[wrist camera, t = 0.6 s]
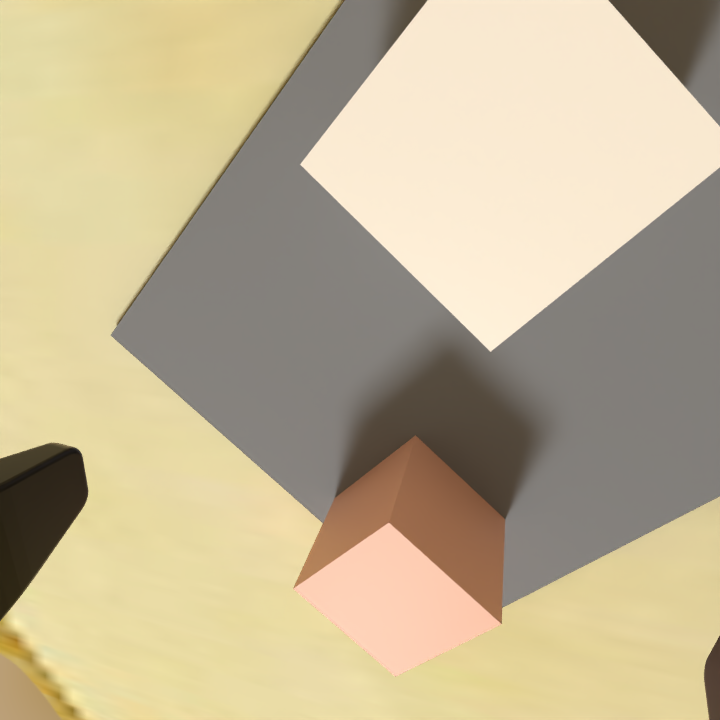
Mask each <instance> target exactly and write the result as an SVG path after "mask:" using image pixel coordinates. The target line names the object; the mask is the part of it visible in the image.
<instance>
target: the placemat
mask: <svg viewBox="0 0 720 720" xmlns="http://www.w3.org/2000/svg"><path fill="white" fill-rule="evenodd" d="M426 2H427V0H345V1H344V2H343V4H342V5H341V6H340V8H339V9H338V11H337V12H336V14H335V15H334V16H333V18H332V19H331V21H330V22H329V24H328V25H327V26H326V28H325V29H324V31H323V32H322V34H321V35H320V36H319V38H318V39H317V41H316V42H315V44H314V45H313V46H312V48H311V49H310V51H309V52H308V54H307V55H306V56H305V58H304V59H303V61H302V62H301V64H300V65H299V66H298V68H297V69H296V71H295V72H294V74H293V75H292V77H291V78H290V79H289V81H288V82H287V84H286V85H285V87H284V88H283V89H282V91H281V92H280V94H279V95H278V97H277V98H276V99H275V101H274V102H273V104H272V105H271V107H270V108H269V109H268V111H267V112H266V114H265V115H264V117H263V118H262V119H261V121H260V122H259V124H258V125H257V127H256V128H255V129H254V131H253V132H252V134H251V135H250V137H249V138H248V139H247V141H246V142H245V144H244V145H243V147H242V148H241V149H240V151H239V152H238V154H237V155H236V157H235V158H234V159H233V161H232V162H231V164H230V165H229V167H228V168H227V169H226V171H225V172H224V174H223V175H222V177H221V178H220V179H219V181H218V182H217V184H216V185H215V187H214V188H213V189H212V191H211V192H210V194H209V195H208V197H207V198H206V199H205V201H204V202H203V204H202V205H201V207H200V208H199V209H198V211H197V212H196V214H195V215H194V217H193V218H192V219H191V221H190V222H189V224H188V225H187V227H186V228H185V230H184V231H183V232H182V234H181V235H180V237H179V238H178V240H177V241H176V242H175V244H174V245H173V247H172V248H171V250H170V251H169V252H168V254H167V255H166V257H165V258H164V260H163V261H162V262H161V264H160V265H159V267H158V268H157V270H156V271H155V272H154V274H153V275H152V277H151V278H150V280H149V281H148V282H147V284H146V285H145V287H144V288H143V290H142V291H141V292H140V294H139V295H138V297H137V298H136V300H135V301H134V302H133V304H132V305H131V307H130V308H129V310H128V311H127V312H126V314H125V315H124V317H123V318H122V320H121V321H120V322H119V324H118V325H117V327H116V328H115V330H114V331H113V332H112V334H111V336H112V337H113V338H114V339H115V340H117V341H118V342H119V343H120V344H121V345H122V346H123V347H124V348H126V349H127V350H128V351H129V352H130V353H131V354H132V355H133V356H135V357H136V358H137V359H138V360H139V361H140V362H141V363H143V364H144V365H145V366H146V367H147V368H148V369H149V370H150V371H152V372H153V373H154V374H155V375H156V376H157V377H158V378H159V379H161V380H162V381H163V382H164V383H165V384H166V385H167V386H169V387H170V388H171V389H172V390H173V391H174V392H175V393H176V394H178V395H179V396H180V397H181V398H182V399H183V400H184V401H185V402H187V403H188V404H189V405H190V406H191V407H192V408H193V409H194V410H196V411H197V412H198V413H199V414H200V415H201V416H202V417H204V418H205V419H206V420H207V421H208V422H209V423H210V424H211V425H213V426H214V427H215V428H216V429H217V430H218V431H219V432H220V433H222V434H223V435H224V436H225V437H226V438H227V439H228V440H230V441H231V442H232V443H233V444H234V445H235V446H236V447H237V448H239V449H240V450H241V451H242V452H243V453H244V454H245V455H246V456H248V457H249V458H250V459H251V460H252V461H253V462H254V463H256V464H257V465H258V466H259V467H260V468H261V469H262V470H263V471H265V472H266V473H267V474H268V475H269V476H270V477H271V478H272V479H274V480H275V481H276V482H277V483H278V484H279V485H280V486H282V487H283V488H284V489H285V490H286V491H287V492H288V493H289V494H291V495H292V496H293V497H294V498H295V499H296V500H297V501H298V502H300V503H301V504H302V505H303V506H304V507H305V508H306V509H308V510H309V511H310V512H311V513H312V514H313V515H314V516H315V517H317V518H318V519H319V520H320V521H321V522H322V523H323V522H324V520H325V518H326V516H327V514H328V511H329V509H330V507H331V505H332V503H333V501H334V498H335V497H337V496H338V495H339V494H341V493H342V492H343V491H344V490H346V489H347V488H348V487H350V486H351V485H352V484H353V483H355V482H356V481H357V480H359V479H360V478H361V477H362V476H364V475H365V474H366V473H368V472H369V471H370V470H372V469H373V468H374V467H375V466H377V465H378V464H379V463H381V462H382V461H383V460H384V459H386V458H387V457H388V456H390V455H391V454H392V453H393V452H395V451H396V450H397V449H399V448H400V447H401V446H402V445H404V444H405V443H406V442H408V441H409V440H410V439H411V438H413V437H414V436H415V435H416V436H417V437H418V438H419V439H420V440H421V441H422V442H423V443H424V444H425V445H426V446H427V447H429V448H430V449H431V450H432V451H433V452H434V453H435V454H436V455H437V456H438V457H439V458H440V459H441V460H442V461H443V462H445V463H446V464H447V465H448V466H449V467H450V468H451V469H452V470H453V471H454V472H455V473H456V474H457V475H458V476H460V477H461V478H462V479H463V480H464V481H465V482H466V483H467V484H468V485H469V486H470V487H471V488H472V489H473V490H474V491H476V492H477V493H478V494H479V495H480V496H481V497H482V498H483V499H484V500H485V501H486V502H487V503H488V504H489V505H490V506H492V507H493V508H494V509H495V510H496V511H497V512H498V513H499V514H500V515H501V516H502V517H503V518H504V519H505V540H504V568H503V596H502V608H503V607H505V606H507V605H509V604H510V603H512V602H514V601H516V600H518V599H520V598H522V597H524V596H526V595H528V594H530V593H532V592H534V591H536V590H538V589H540V588H542V587H544V586H546V585H548V584H550V583H552V582H553V581H555V580H557V579H559V578H561V577H563V576H565V575H567V574H569V573H571V572H573V571H575V570H577V569H579V568H581V567H583V566H585V565H587V564H589V563H591V562H593V561H594V560H596V559H598V558H600V557H602V556H604V555H606V554H608V553H610V552H612V551H614V550H616V549H618V548H620V547H622V546H624V545H626V544H628V543H630V542H632V541H634V540H635V539H637V538H639V537H641V536H643V535H645V534H647V533H649V532H651V531H653V530H655V529H657V528H659V527H661V526H663V525H665V524H667V523H669V522H671V521H673V520H675V519H677V518H678V517H680V516H682V515H684V514H686V513H688V512H690V511H692V510H694V509H696V508H698V507H700V506H702V505H704V504H706V503H708V502H710V501H712V500H714V499H716V498H718V497H719V496H720V168H718V169H717V170H716V171H715V172H713V173H712V174H711V175H710V176H708V177H707V178H706V179H705V180H703V181H702V182H701V183H700V184H698V185H697V186H696V187H695V188H693V189H692V190H691V191H690V192H689V193H687V194H686V195H685V196H684V197H682V198H681V199H680V200H679V201H677V202H676V203H675V204H674V205H672V206H671V207H670V208H669V209H667V210H666V211H665V212H664V213H662V214H661V215H660V216H659V217H657V218H656V219H655V220H654V221H652V222H651V223H650V224H649V225H648V226H646V227H645V228H644V229H643V230H641V231H640V232H639V233H638V234H636V235H635V236H634V237H633V238H631V239H630V240H629V241H628V242H626V243H625V244H624V245H623V246H621V247H620V248H619V249H618V250H616V251H615V252H614V253H613V254H611V255H610V256H609V257H608V258H606V259H605V260H604V261H603V262H602V263H600V264H599V265H598V266H597V267H595V268H594V269H593V270H592V271H590V272H589V273H588V274H587V275H585V276H584V277H583V278H582V279H580V280H579V281H578V282H577V283H575V284H574V285H573V286H572V287H570V288H569V289H568V290H567V291H565V292H564V293H563V294H562V295H561V296H559V297H558V298H557V299H556V300H554V301H553V302H552V303H551V304H549V305H548V306H547V307H546V308H544V309H543V310H542V311H541V312H539V313H538V314H537V315H536V316H534V317H533V318H532V319H531V320H529V321H528V322H527V323H526V324H524V325H523V326H522V327H521V328H519V329H518V330H517V331H516V332H515V333H513V334H512V335H511V336H510V337H508V338H507V339H506V340H505V341H503V342H502V343H501V344H500V345H498V346H497V347H496V348H495V349H493V350H492V351H491V352H490V351H489V350H488V349H487V348H486V347H485V346H484V345H483V344H482V343H481V342H480V341H479V340H478V339H477V338H476V337H475V336H474V335H473V334H472V333H471V332H470V331H469V330H468V329H467V328H466V327H465V326H464V325H463V324H462V323H461V322H460V321H459V320H458V319H457V318H456V317H455V316H454V315H453V314H452V313H451V312H450V311H449V310H448V309H447V308H446V307H445V306H444V305H443V304H442V303H440V302H439V301H438V300H437V299H436V298H435V297H434V296H433V295H432V294H431V293H430V292H429V291H428V290H427V289H426V288H425V287H424V286H423V285H422V284H421V283H420V282H419V281H418V280H417V279H416V278H415V277H414V276H413V275H412V274H411V273H410V272H409V271H408V270H407V269H406V268H405V267H404V266H403V265H402V264H401V263H400V262H399V261H398V260H397V259H396V258H395V257H394V256H393V255H392V254H391V253H390V252H389V251H388V250H387V249H386V248H385V247H384V246H383V245H382V244H381V243H379V242H378V241H377V240H376V239H375V238H374V237H373V236H372V235H371V234H370V233H369V232H368V231H367V230H366V229H365V228H364V227H363V226H362V225H361V224H360V223H359V222H358V221H357V220H356V219H355V218H354V217H353V216H352V215H351V214H350V213H349V212H348V211H347V210H346V209H345V208H344V207H343V206H342V205H341V204H340V203H339V202H338V201H337V200H336V199H335V198H334V197H333V196H332V195H331V194H330V193H329V192H328V191H327V190H326V189H325V188H324V187H323V186H322V185H321V184H319V183H318V182H317V181H316V180H315V179H314V178H313V177H312V176H311V175H310V174H309V173H308V172H307V171H306V170H305V169H304V168H303V167H302V166H301V165H300V164H301V163H302V161H303V160H304V159H305V158H306V156H307V155H308V154H309V152H310V151H311V150H312V149H313V147H314V146H315V145H316V143H317V142H318V141H319V140H320V138H321V137H322V136H323V134H324V133H325V132H326V131H327V129H328V128H329V127H330V125H331V124H332V123H333V122H334V120H335V119H336V118H337V116H338V115H339V114H340V112H341V111H342V110H343V109H344V107H345V106H346V105H347V103H348V102H349V101H350V100H351V98H352V97H353V96H354V94H355V93H356V92H357V91H358V89H359V88H360V87H361V85H362V84H363V83H364V82H365V80H366V79H367V78H368V76H369V75H370V74H371V73H372V71H373V70H374V69H375V67H376V66H377V65H378V64H379V62H380V61H381V60H382V58H383V57H384V56H385V55H386V53H387V52H388V51H389V49H390V48H391V47H392V46H393V44H394V43H395V42H396V40H397V39H398V38H399V37H400V35H401V34H402V33H403V31H404V30H405V29H406V28H407V26H408V25H409V24H410V22H411V21H412V20H413V18H414V17H415V16H416V15H417V13H418V12H419V11H420V9H421V8H422V7H423V6H424V4H425V3H426ZM609 2H610V3H611V4H612V5H613V6H614V7H615V8H616V10H617V11H618V12H619V13H620V14H621V15H622V16H623V17H624V19H625V20H626V21H627V22H628V23H629V24H630V25H631V27H632V28H633V29H634V30H635V31H636V32H637V33H638V34H639V36H640V37H641V38H642V39H643V40H644V41H645V42H646V44H647V45H648V46H649V47H650V48H651V49H652V50H653V51H654V53H655V54H656V55H657V56H658V57H659V58H660V59H661V61H662V62H663V63H664V64H665V65H666V66H667V67H668V68H669V70H670V71H671V72H672V73H673V74H674V75H675V76H676V78H677V79H678V80H679V81H680V82H681V83H682V84H683V85H684V87H685V88H686V89H687V90H688V91H689V92H690V93H691V95H692V96H693V97H694V98H695V99H696V100H697V101H698V102H699V104H700V105H701V106H702V107H703V108H704V109H705V110H706V112H707V113H708V114H709V115H710V116H711V117H712V118H713V119H714V121H715V122H716V123H717V124H718V125H719V126H720V0H609Z"/></svg>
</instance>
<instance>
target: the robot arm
mask: <svg viewBox="0 0 720 720" xmlns="http://www.w3.org/2000/svg"><path fill="white" fill-rule="evenodd" d="M87 497H88V486H87V480H86V474H85V468H84V463H83V457H82V454H81V452H80V451H79V450H78V449H77V448H75V447H71V446H67V445H63V444H59V443H49V444H45V445H42V446H39V447H36V448H33V449H29V450H26V451H23V452H20V453H17V454H13V455H10V456H7V457H4V458H1V459H0V621H1V619H2V618H3V617H4V616H5V615H6V614H7V612H8V611H9V610H10V609H11V607H12V606H13V605H14V604H15V603H16V601H17V600H18V599H19V598H20V596H21V595H22V594H23V592H24V591H25V590H26V588H27V587H28V586H29V584H30V583H31V581H32V580H33V579H34V577H35V576H36V574H37V573H38V572H39V570H40V569H41V567H42V566H43V564H44V563H45V562H46V560H47V559H48V557H49V556H50V554H51V553H52V552H53V550H54V549H55V547H56V546H57V544H58V543H59V541H60V540H61V539H62V537H63V536H64V534H65V533H66V531H67V530H68V529H69V527H70V526H71V524H72V523H73V521H74V520H75V519H76V517H77V516H78V514H79V513H80V511H81V510H82V508H83V507H84V505H85V503H86V500H87ZM704 682H705V690H706V698H707V706H708V714H709V720H720V636H719V638H718V640H717V642H716V643H715V645H714V647H713V649H712V651H711V653H710V654H709V656H708V658H707V661H706V664H705V670H704Z"/></svg>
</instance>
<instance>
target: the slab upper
mask: <svg viewBox="0 0 720 720" xmlns="http://www.w3.org/2000/svg"><path fill="white" fill-rule="evenodd" d="M300 165H301V166H302V167H303V168H304V169H305V170H306V171H307V172H308V173H309V174H310V175H311V176H312V177H313V178H314V179H315V180H316V181H317V182H318V183H319V184H321V185H322V186H323V187H324V188H325V189H326V190H327V191H328V192H329V193H330V194H331V195H332V196H333V197H334V198H335V199H336V200H337V201H338V202H339V203H340V204H341V205H342V206H343V207H344V208H345V209H346V210H347V211H348V212H349V213H350V214H351V215H352V216H353V217H354V218H355V219H356V220H357V221H358V222H359V223H360V224H361V225H362V226H363V227H364V228H365V229H366V230H367V231H368V232H369V233H370V234H371V235H372V236H373V237H374V238H375V239H376V240H377V241H378V242H379V243H381V244H382V245H383V246H384V247H385V248H386V249H387V250H388V251H389V252H390V253H391V254H392V255H393V256H394V257H395V258H396V259H397V260H398V261H399V262H400V263H401V264H402V265H403V266H404V267H405V268H406V269H407V270H408V271H409V272H410V273H411V274H412V275H413V276H414V277H415V278H416V279H417V280H418V281H419V282H420V283H421V284H422V285H423V286H424V287H425V288H426V289H427V290H428V291H429V292H430V293H431V294H432V295H433V296H434V297H435V298H436V299H437V300H438V301H439V302H440V303H442V304H443V305H444V306H445V307H446V308H447V309H448V310H449V311H450V312H451V313H452V314H453V315H454V316H455V317H456V318H457V319H458V320H459V321H460V322H461V323H462V324H463V325H464V326H465V327H466V328H467V329H468V330H469V331H470V332H471V333H472V334H473V335H474V336H475V337H476V338H477V339H478V340H479V341H480V342H481V343H482V344H483V345H484V346H485V347H486V348H487V349H488V350H489V351H490V352H491V351H492V350H493V349H495V348H496V347H497V346H498V345H500V344H501V343H502V342H503V341H505V340H506V339H507V338H508V337H510V336H511V335H512V334H513V333H515V332H516V331H517V330H518V329H519V328H521V327H522V326H523V325H524V324H526V323H527V322H528V321H529V320H531V319H532V318H533V317H534V316H536V315H537V314H538V313H539V312H541V311H542V310H543V309H544V308H546V307H547V306H548V305H549V304H551V303H552V302H553V301H554V300H556V299H557V298H558V297H559V296H561V295H562V294H563V293H564V292H565V291H567V290H568V289H569V288H570V287H572V286H573V285H574V284H575V283H577V282H578V281H579V280H580V279H582V278H583V277H584V276H585V275H587V274H588V273H589V272H590V271H592V270H593V269H594V268H595V267H597V266H598V265H599V264H600V263H602V262H603V261H604V260H605V259H606V258H608V257H609V256H610V255H611V254H613V253H614V252H615V251H616V250H618V249H619V248H620V247H621V246H623V245H624V244H625V243H626V242H628V241H629V240H630V239H631V238H633V237H634V236H635V235H636V234H638V233H639V232H640V231H641V230H643V229H644V228H645V227H646V226H648V225H649V224H650V223H651V222H652V221H654V220H655V219H656V218H657V217H659V216H660V215H661V214H662V213H664V212H665V211H666V210H667V209H669V208H670V207H671V206H672V205H674V204H675V203H676V202H677V201H679V200H680V199H681V198H682V197H684V196H685V195H686V194H687V193H689V192H690V191H691V190H692V189H693V188H695V187H696V186H697V185H698V184H700V183H701V182H702V181H703V180H705V179H706V178H707V177H708V176H710V175H711V174H712V173H713V172H715V171H716V170H717V169H718V168H720V126H719V125H718V124H717V123H716V122H715V121H714V119H713V118H712V117H711V116H710V115H709V114H708V113H707V112H706V110H705V109H704V108H703V107H702V106H701V105H700V104H699V102H698V101H697V100H696V99H695V98H694V97H693V96H692V95H691V93H690V92H689V91H688V90H687V89H686V88H685V87H684V85H683V84H682V83H681V82H680V81H679V80H678V79H677V78H676V76H675V75H674V74H673V73H672V72H671V71H670V70H669V68H668V67H667V66H666V65H665V64H664V63H663V62H662V61H661V59H660V58H659V57H658V56H657V55H656V54H655V53H654V51H653V50H652V49H651V48H650V47H649V46H648V45H647V44H646V42H645V41H644V40H643V39H642V38H641V37H640V36H639V34H638V33H637V32H636V31H635V30H634V29H633V28H632V27H631V25H630V24H629V23H628V22H627V21H626V20H625V19H624V17H623V16H622V15H621V14H620V13H619V12H618V11H617V10H616V8H615V7H614V6H613V5H612V4H611V3H610V2H609V0H427V2H426V3H425V4H424V6H423V7H422V8H421V9H420V11H419V12H418V13H417V15H416V16H415V17H414V18H413V20H412V21H411V22H410V24H409V25H408V26H407V28H406V29H405V30H404V31H403V33H402V34H401V35H400V37H399V38H398V39H397V40H396V42H395V43H394V44H393V46H392V47H391V48H390V49H389V51H388V52H387V53H386V55H385V56H384V57H383V58H382V60H381V61H380V62H379V64H378V65H377V66H376V67H375V69H374V70H373V71H372V73H371V74H370V75H369V76H368V78H367V79H366V80H365V82H364V83H363V84H362V85H361V87H360V88H359V89H358V91H357V92H356V93H355V94H354V96H353V97H352V98H351V100H350V101H349V102H348V103H347V105H346V106H345V107H344V109H343V110H342V111H341V112H340V114H339V115H338V116H337V118H336V119H335V120H334V122H333V123H332V124H331V125H330V127H329V128H328V129H327V131H326V132H325V133H324V134H323V136H322V137H321V138H320V140H319V141H318V142H317V143H316V145H315V146H314V147H313V149H312V150H311V151H310V152H309V154H308V155H307V156H306V158H305V159H304V160H303V161H302V163H301V164H300Z"/></svg>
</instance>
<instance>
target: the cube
mask: <svg viewBox="0 0 720 720" xmlns="http://www.w3.org/2000/svg"><path fill="white" fill-rule="evenodd" d="M504 540H505V519H504V518H503V517H502V516H501V515H500V514H499V513H498V512H497V511H496V510H495V509H494V508H493V507H492V506H490V505H489V504H488V503H487V502H486V501H485V500H484V499H483V498H482V497H481V496H480V495H479V494H478V493H477V492H476V491H474V490H473V489H472V488H471V487H470V486H469V485H468V484H467V483H466V482H465V481H464V480H463V479H462V478H461V477H460V476H458V475H457V474H456V473H455V472H454V471H453V470H452V469H451V468H450V467H449V466H448V465H447V464H446V463H445V462H443V461H442V460H441V459H440V458H439V457H438V456H437V455H436V454H435V453H434V452H433V451H432V450H431V449H430V448H429V447H427V446H426V445H425V444H424V443H423V442H422V441H421V440H420V439H419V438H418V437H417V436H416V435H415V436H414V437H413V438H411V439H410V440H409V441H408V442H406V443H405V444H404V445H402V446H401V447H400V448H399V449H397V450H396V451H395V452H393V453H392V454H391V455H390V456H388V457H387V458H386V459H384V460H383V461H382V462H381V463H379V464H378V465H377V466H375V467H374V468H373V469H372V470H370V471H369V472H368V473H366V474H365V475H364V476H362V477H361V478H360V479H359V480H357V481H356V482H355V483H353V484H352V485H351V486H350V487H348V488H347V489H346V490H344V491H343V492H342V493H341V494H339V495H338V496H337V497H335V498H334V501H333V503H332V505H331V507H330V509H329V511H328V514H327V516H326V518H325V520H324V522H323V525H322V527H321V529H320V531H319V533H318V536H317V538H316V540H315V542H314V544H313V547H312V549H311V551H310V553H309V555H308V557H307V560H306V562H305V564H304V566H303V568H302V571H301V573H300V575H299V577H298V579H297V582H296V584H295V586H294V588H293V589H294V590H295V591H296V592H297V593H299V594H300V595H301V596H302V597H303V598H304V599H306V600H307V601H308V602H309V603H310V604H311V605H313V606H314V607H315V608H316V609H317V610H318V611H320V612H321V613H322V614H323V615H324V616H325V617H327V618H328V619H329V620H330V621H331V622H332V623H334V624H335V625H336V626H337V627H338V628H339V629H341V630H342V631H343V632H344V633H345V634H346V635H348V636H349V637H350V638H351V639H352V640H353V641H354V642H356V643H357V644H358V645H359V646H360V647H361V648H363V649H364V650H365V651H366V652H367V653H368V654H370V655H371V656H372V657H373V658H374V659H375V660H377V661H378V662H379V663H380V664H381V665H382V666H384V667H385V668H386V669H387V670H388V671H389V672H391V673H392V674H393V675H394V676H395V677H396V676H398V675H400V674H402V673H404V672H406V671H408V670H410V669H412V668H414V667H416V666H418V665H420V664H422V663H424V662H426V661H428V660H430V659H432V658H434V657H436V656H438V655H440V654H442V653H444V652H446V651H448V650H450V649H452V648H454V647H456V646H458V645H460V644H462V643H464V642H466V641H468V640H471V639H473V638H475V637H477V636H479V635H481V634H483V633H485V632H487V631H489V630H491V629H493V628H495V627H497V626H499V625H501V624H502V596H503V568H504Z"/></svg>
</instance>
